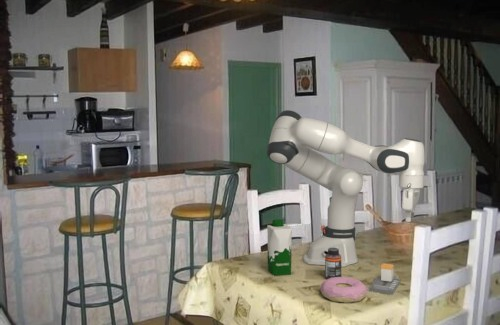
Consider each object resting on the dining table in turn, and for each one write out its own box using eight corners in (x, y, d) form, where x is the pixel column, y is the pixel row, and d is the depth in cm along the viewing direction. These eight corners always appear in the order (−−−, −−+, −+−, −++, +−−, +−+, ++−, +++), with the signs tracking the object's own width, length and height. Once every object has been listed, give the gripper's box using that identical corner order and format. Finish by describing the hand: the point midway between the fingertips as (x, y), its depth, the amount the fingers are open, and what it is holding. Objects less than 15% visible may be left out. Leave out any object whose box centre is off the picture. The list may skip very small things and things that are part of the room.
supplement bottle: (330, 275, 192) (330, 245, 191) (344, 278, 188) (344, 248, 187) (322, 279, 188) (322, 249, 187) (336, 282, 184) (336, 251, 183)
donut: (343, 308, 159) (343, 293, 159) (311, 294, 172) (311, 280, 172) (376, 298, 168) (377, 283, 168) (344, 285, 181) (344, 272, 180)
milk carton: (286, 268, 201) (286, 218, 199) (294, 275, 192) (294, 223, 191) (265, 270, 199) (265, 219, 197) (272, 277, 190) (272, 224, 188)
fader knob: (382, 277, 185) (383, 263, 184) (393, 278, 183) (393, 264, 182) (380, 280, 181) (380, 266, 181) (391, 281, 179) (391, 267, 179)
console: (378, 279, 187) (378, 273, 187) (400, 282, 183) (400, 276, 183) (369, 291, 175) (369, 284, 174) (392, 294, 171) (392, 288, 171)
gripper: (417, 186, 177) (415, 225, 179) (422, 179, 196) (421, 215, 197) (398, 185, 180) (397, 223, 181) (405, 178, 199) (404, 213, 200)
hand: (409, 219), depth 189 cm, fingers open, 8 cm apart
